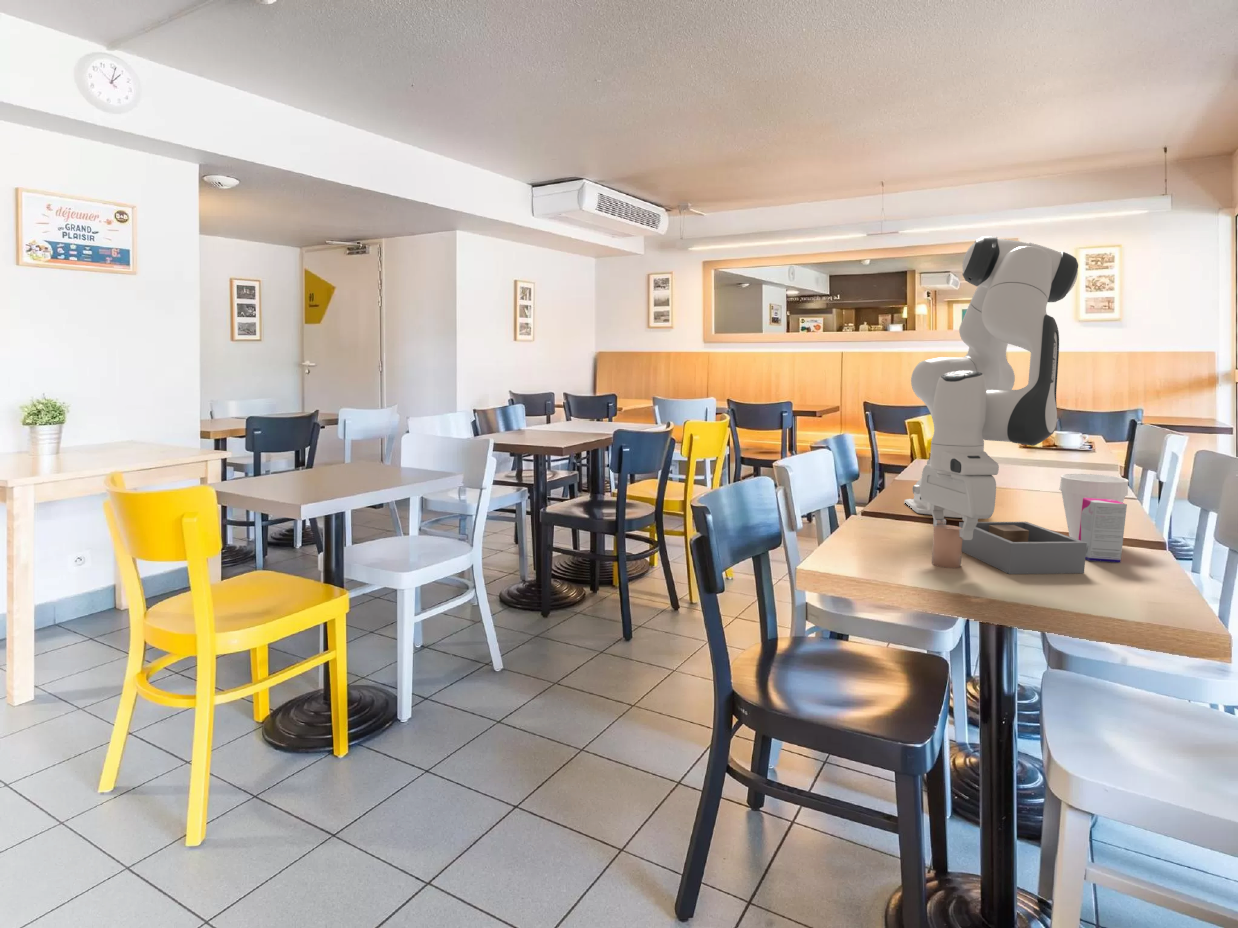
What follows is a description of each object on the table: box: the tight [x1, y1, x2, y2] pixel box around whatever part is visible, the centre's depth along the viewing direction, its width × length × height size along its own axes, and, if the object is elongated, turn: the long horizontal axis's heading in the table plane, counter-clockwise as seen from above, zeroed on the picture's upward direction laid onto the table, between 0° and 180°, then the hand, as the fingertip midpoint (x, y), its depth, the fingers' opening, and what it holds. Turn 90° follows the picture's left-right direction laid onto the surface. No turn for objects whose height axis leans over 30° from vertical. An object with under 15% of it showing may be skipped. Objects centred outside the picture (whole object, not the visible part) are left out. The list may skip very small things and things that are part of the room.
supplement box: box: [1078, 498, 1128, 563], centre depth 143 cm, size 6×6×12 cm
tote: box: [958, 521, 1087, 575], centre depth 141 cm, size 18×14×6 cm
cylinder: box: [931, 524, 963, 569], centre depth 138 cm, size 5×5×7 cm
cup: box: [1058, 473, 1130, 540], centre depth 157 cm, size 12×12×14 cm
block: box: [989, 525, 1029, 542], centre depth 145 cm, size 5×5×5 cm
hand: (952, 533), depth 137 cm, fingers open, 8 cm apart
